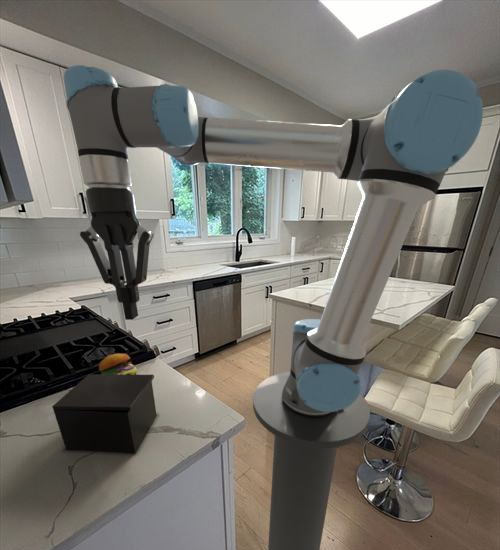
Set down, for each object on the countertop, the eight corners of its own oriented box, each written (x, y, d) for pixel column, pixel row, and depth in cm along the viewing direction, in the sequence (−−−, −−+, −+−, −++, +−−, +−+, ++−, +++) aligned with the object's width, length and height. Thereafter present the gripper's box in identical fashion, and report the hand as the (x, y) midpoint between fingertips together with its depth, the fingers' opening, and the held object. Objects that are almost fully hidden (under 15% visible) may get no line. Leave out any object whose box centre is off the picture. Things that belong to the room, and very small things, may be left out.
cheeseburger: (114, 394, 80) (103, 362, 77) (98, 389, 86) (87, 359, 84) (145, 378, 87) (135, 349, 85) (128, 375, 94) (119, 347, 91)
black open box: (156, 415, 72) (151, 379, 67) (135, 453, 60) (127, 413, 56) (98, 412, 72) (89, 377, 68) (66, 450, 61) (53, 409, 56)
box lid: (154, 377, 67) (153, 374, 67) (130, 410, 55) (130, 407, 55) (89, 377, 68) (88, 374, 68) (53, 409, 56) (51, 406, 56)
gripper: (154, 190, 51) (169, 312, 60) (85, 190, 52) (110, 311, 61) (137, 185, 44) (156, 324, 53) (58, 186, 45) (90, 323, 54)
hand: (131, 317), depth 57 cm, fingers closed
